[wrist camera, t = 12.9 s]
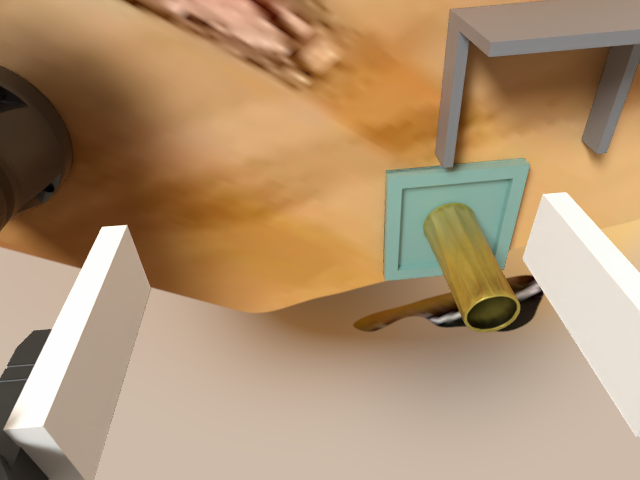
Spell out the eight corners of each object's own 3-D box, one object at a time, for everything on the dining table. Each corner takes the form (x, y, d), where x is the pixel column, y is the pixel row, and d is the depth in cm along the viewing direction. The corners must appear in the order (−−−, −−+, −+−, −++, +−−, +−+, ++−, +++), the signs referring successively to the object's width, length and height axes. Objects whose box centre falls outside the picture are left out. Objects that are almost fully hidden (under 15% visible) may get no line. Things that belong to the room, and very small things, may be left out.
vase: (413, 219, 53) (448, 311, 42) (461, 192, 51) (512, 280, 40) (436, 251, 56) (474, 344, 45) (482, 226, 55) (534, 317, 43)
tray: (383, 272, 59) (385, 281, 58) (385, 170, 50) (388, 177, 48) (499, 261, 59) (503, 269, 58) (524, 157, 50) (529, 164, 49)
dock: (435, 153, 49) (464, 207, 41) (449, 9, 40) (491, 42, 32) (590, 139, 49) (649, 190, 41) (639, -8, 40) (725, 21, 32)
